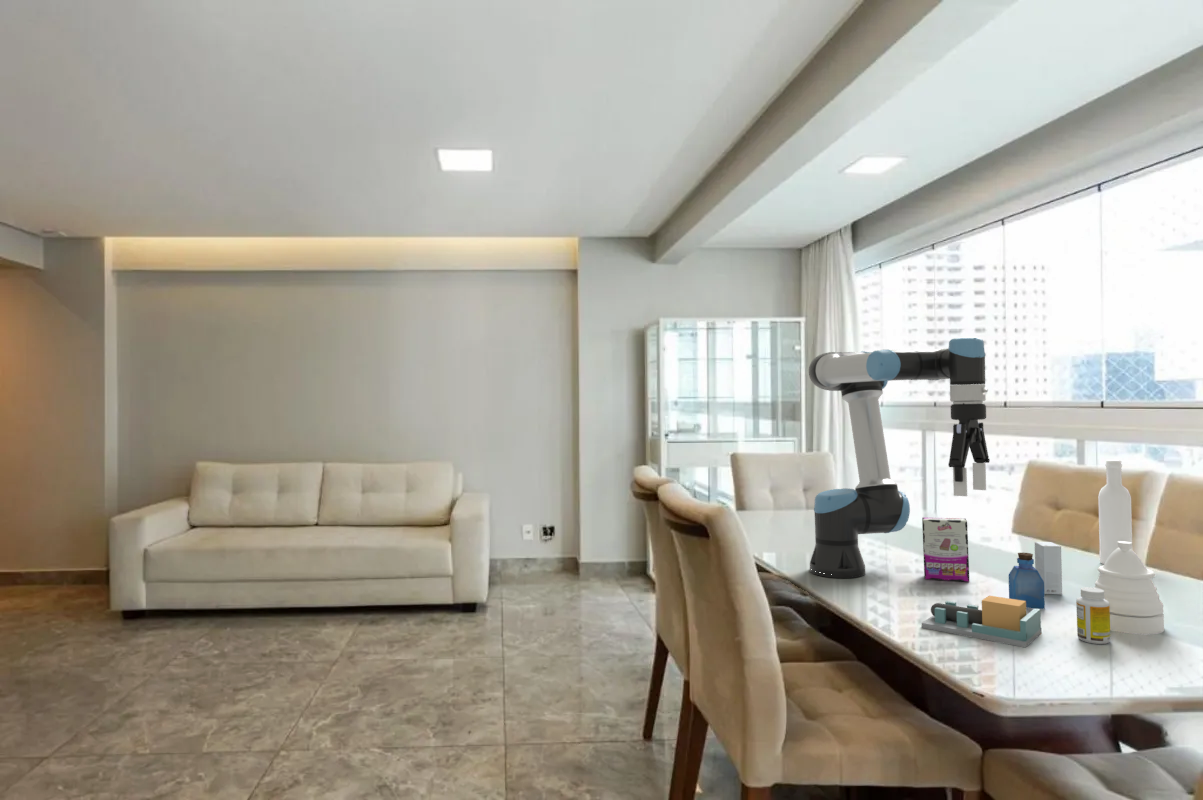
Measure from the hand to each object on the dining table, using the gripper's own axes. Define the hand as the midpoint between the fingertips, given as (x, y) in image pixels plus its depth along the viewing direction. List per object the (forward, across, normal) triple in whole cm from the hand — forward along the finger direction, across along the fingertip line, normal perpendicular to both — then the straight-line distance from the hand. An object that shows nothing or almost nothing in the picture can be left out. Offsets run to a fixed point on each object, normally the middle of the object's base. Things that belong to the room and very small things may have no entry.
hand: (970, 492), depth 173 cm
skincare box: (+27, +25, -10) cm, 38 cm away
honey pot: (+27, +5, -29) cm, 40 cm away
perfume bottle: (+27, +9, -9) cm, 30 cm away
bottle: (+27, +70, -17) cm, 77 cm away
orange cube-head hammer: (+26, -18, -6) cm, 32 cm away
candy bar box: (+27, +23, +14) cm, 38 cm away
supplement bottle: (+27, -11, -26) cm, 39 cm away
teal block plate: (+27, -18, -7) cm, 33 cm away
